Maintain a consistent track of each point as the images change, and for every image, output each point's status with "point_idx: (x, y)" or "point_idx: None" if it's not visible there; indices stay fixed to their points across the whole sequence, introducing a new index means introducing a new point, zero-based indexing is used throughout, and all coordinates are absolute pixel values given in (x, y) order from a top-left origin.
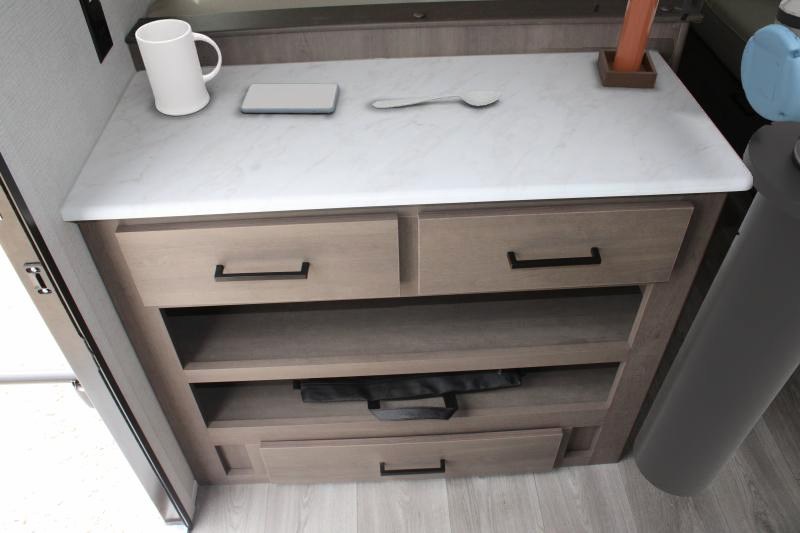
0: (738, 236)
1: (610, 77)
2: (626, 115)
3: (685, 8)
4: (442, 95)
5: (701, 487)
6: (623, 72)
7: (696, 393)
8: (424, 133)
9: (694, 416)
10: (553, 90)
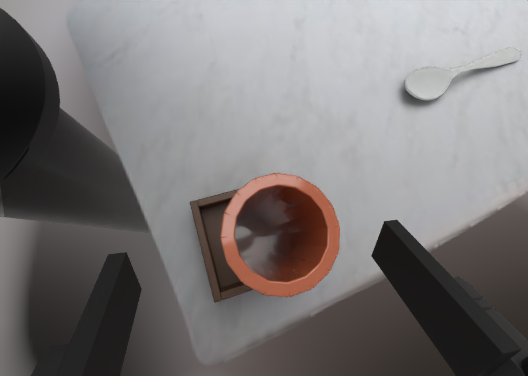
0: (87, 156)
1: None
2: (229, 110)
3: (120, 265)
4: (468, 69)
5: None
6: None
7: None
8: (443, 15)
9: None
10: (343, 148)
